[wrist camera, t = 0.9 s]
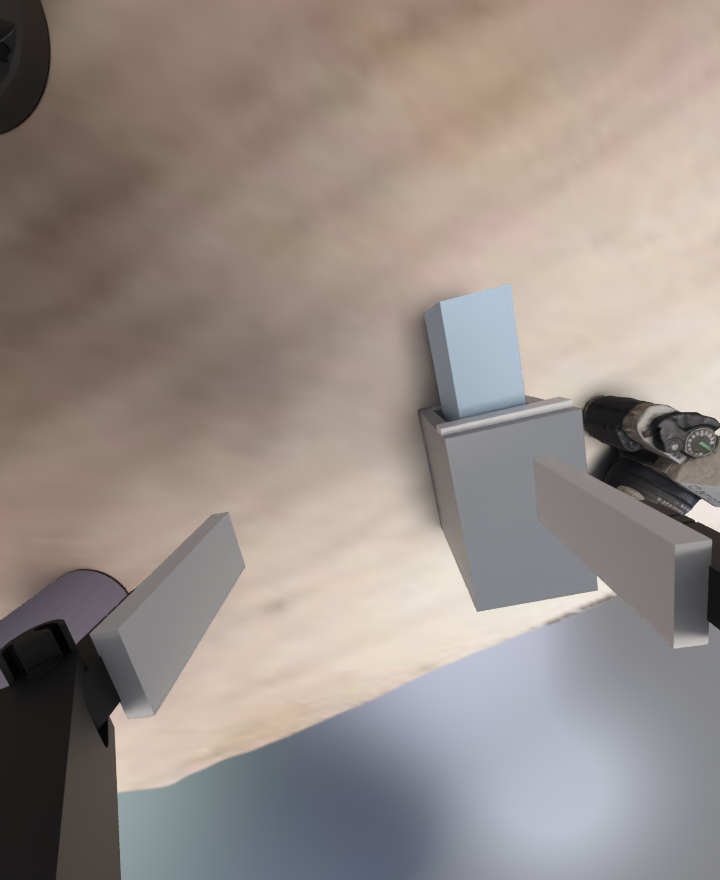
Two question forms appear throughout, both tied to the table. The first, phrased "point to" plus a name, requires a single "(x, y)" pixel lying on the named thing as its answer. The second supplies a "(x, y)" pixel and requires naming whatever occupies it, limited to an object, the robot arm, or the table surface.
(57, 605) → the container
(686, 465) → the camera
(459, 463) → the dispenser
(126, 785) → the table surface
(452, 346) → the tall blue-grey block
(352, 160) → the table surface
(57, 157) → the table surface
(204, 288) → the table surface
